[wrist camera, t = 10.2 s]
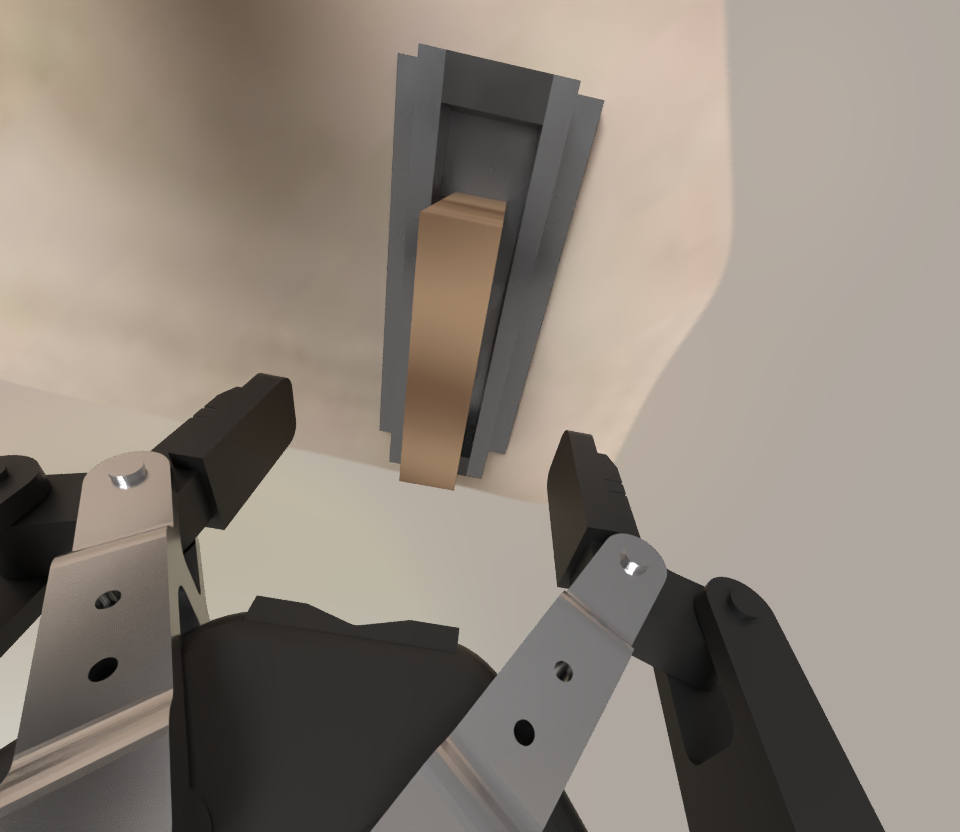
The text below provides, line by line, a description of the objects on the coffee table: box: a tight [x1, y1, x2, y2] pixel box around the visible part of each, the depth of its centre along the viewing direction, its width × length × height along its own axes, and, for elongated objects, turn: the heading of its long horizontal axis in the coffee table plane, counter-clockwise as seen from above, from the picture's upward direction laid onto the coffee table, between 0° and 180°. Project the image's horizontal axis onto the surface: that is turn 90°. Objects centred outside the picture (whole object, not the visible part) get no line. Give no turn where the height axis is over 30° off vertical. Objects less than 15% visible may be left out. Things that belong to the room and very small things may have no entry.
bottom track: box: [380, 44, 604, 479], centre depth 21 cm, size 20×9×4 cm, turn 170°
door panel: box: [399, 192, 506, 490], centre depth 18 cm, size 11×2×9 cm, turn 170°
